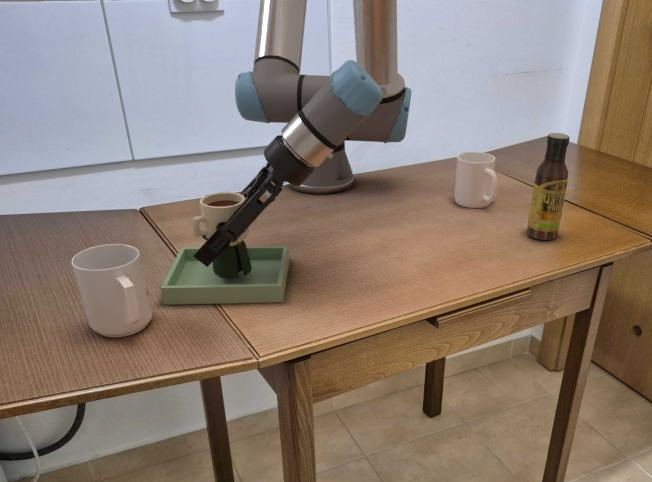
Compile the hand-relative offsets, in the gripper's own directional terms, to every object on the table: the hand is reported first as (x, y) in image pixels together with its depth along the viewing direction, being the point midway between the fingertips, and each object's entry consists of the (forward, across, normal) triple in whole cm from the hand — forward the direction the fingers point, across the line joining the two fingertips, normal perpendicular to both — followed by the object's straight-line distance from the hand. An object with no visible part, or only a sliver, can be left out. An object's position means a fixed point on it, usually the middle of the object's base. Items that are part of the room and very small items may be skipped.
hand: (205, 250), depth 105 cm
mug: (+11, -15, +3) cm, 19 cm away
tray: (+2, 0, -6) cm, 7 cm away
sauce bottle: (-40, +18, -48) cm, 65 cm away
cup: (-33, +36, -41) cm, 64 cm away
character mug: (0, 0, -6) cm, 6 cm away
